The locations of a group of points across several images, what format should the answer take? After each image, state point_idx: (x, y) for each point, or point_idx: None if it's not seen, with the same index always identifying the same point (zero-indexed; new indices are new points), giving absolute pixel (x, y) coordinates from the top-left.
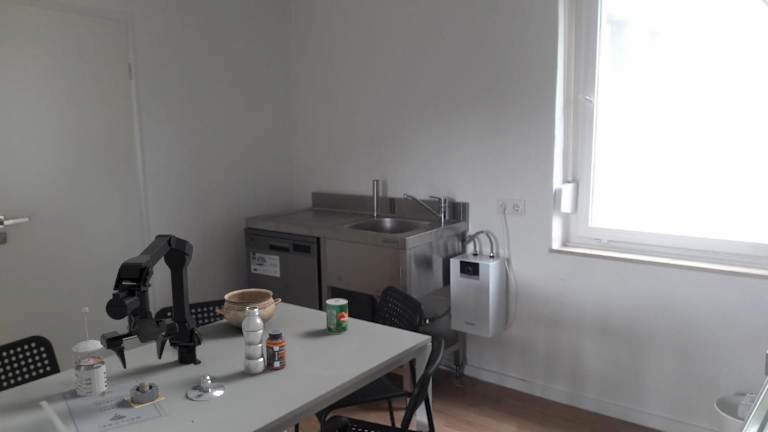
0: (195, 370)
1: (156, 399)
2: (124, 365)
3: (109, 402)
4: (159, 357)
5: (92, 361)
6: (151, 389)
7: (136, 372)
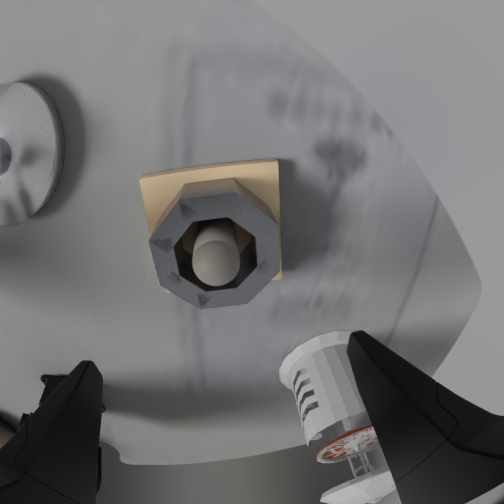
0: (47, 351)
1: (174, 193)
2: (378, 346)
3: (318, 293)
4: (85, 371)
5: (351, 442)
6: (187, 219)
7: (196, 412)
